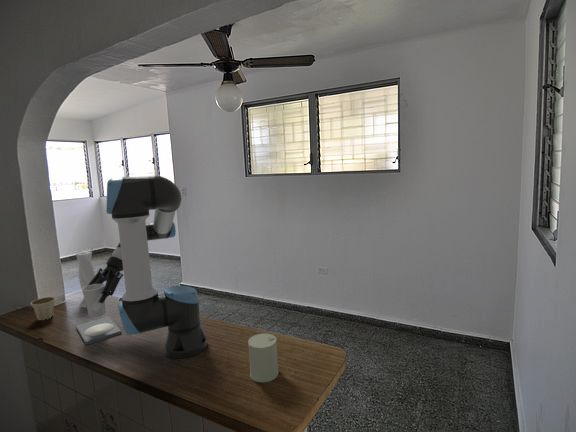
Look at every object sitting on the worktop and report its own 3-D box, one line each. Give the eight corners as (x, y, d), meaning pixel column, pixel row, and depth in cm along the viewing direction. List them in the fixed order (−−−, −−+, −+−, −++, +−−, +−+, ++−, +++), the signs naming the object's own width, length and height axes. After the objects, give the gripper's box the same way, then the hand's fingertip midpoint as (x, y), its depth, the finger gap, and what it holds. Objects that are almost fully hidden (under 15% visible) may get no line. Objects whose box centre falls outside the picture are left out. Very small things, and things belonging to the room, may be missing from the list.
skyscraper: (96, 295, 189) (90, 246, 185) (101, 299, 184) (94, 248, 180) (80, 300, 183) (73, 249, 179) (84, 303, 178) (77, 251, 174)
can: (281, 378, 108) (280, 343, 106) (252, 385, 105) (250, 348, 104) (274, 363, 117) (272, 329, 115) (247, 368, 114) (245, 334, 112)
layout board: (121, 333, 143) (121, 330, 143) (86, 344, 135) (85, 341, 135) (108, 318, 158) (108, 315, 158) (76, 328, 150) (75, 325, 150)
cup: (91, 320, 139) (87, 291, 137) (83, 315, 144) (79, 288, 142) (111, 312, 145) (108, 285, 143) (102, 308, 150) (99, 282, 148)
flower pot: (62, 314, 166) (60, 297, 165) (45, 322, 157) (42, 304, 156) (45, 313, 168) (43, 296, 167) (28, 322, 159) (25, 304, 157)
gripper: (140, 266, 150) (110, 316, 139) (110, 261, 160) (80, 307, 149) (128, 257, 145) (96, 308, 133) (98, 253, 155) (66, 300, 143)
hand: (88, 308), depth 141 cm, fingers closed on cup, 8 cm apart
